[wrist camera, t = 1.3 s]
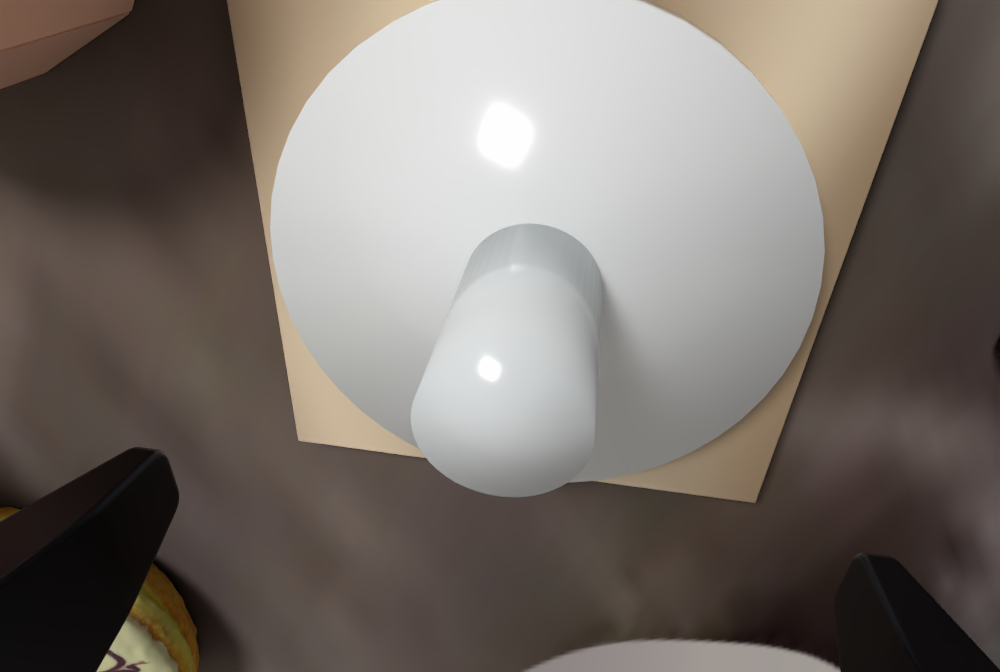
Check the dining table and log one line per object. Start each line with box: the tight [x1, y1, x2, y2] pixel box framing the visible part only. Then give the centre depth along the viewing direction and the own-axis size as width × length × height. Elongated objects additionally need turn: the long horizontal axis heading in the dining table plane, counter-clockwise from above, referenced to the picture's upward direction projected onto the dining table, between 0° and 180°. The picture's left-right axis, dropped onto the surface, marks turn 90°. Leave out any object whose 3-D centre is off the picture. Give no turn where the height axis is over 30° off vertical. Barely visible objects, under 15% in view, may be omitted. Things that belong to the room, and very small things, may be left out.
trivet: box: [227, 0, 938, 503], centre depth 15 cm, size 12×12×1 cm
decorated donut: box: [0, 507, 200, 672], centre depth 24 cm, size 10×11×4 cm
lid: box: [270, 0, 825, 497], centre depth 13 cm, size 11×11×5 cm
